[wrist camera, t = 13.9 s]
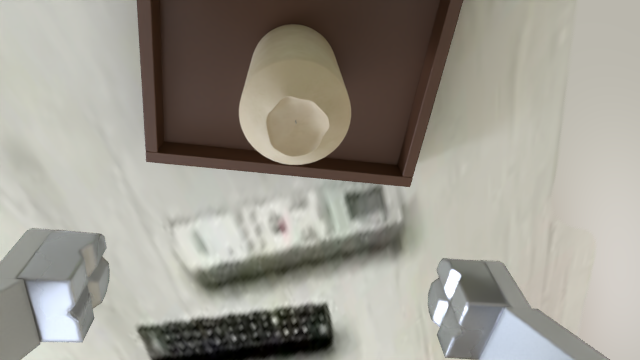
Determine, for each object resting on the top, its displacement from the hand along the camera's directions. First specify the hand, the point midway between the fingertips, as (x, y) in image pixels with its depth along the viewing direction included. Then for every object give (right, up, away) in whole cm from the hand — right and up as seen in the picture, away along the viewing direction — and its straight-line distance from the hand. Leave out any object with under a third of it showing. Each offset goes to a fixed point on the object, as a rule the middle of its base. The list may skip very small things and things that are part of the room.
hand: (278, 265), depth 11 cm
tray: (-1, +10, +19) cm, 21 cm away
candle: (-1, +10, +18) cm, 21 cm away
